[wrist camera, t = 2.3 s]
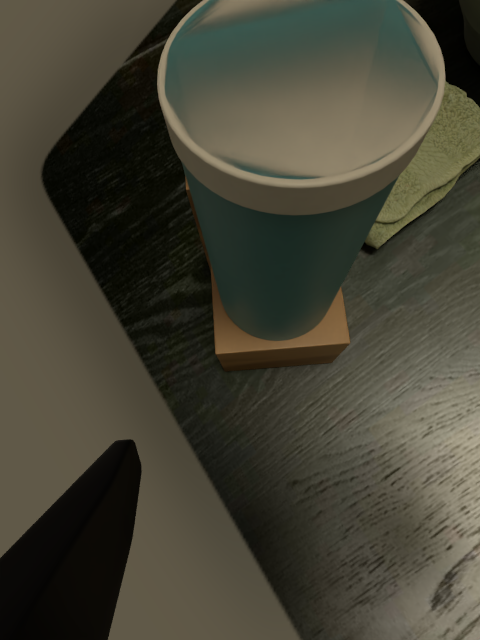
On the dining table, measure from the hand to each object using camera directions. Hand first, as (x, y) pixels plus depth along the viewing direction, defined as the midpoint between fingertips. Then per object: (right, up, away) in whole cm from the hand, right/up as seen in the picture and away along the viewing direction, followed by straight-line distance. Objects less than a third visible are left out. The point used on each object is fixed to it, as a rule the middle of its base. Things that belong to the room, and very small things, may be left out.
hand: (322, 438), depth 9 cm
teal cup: (0, +4, +10) cm, 11 cm away
